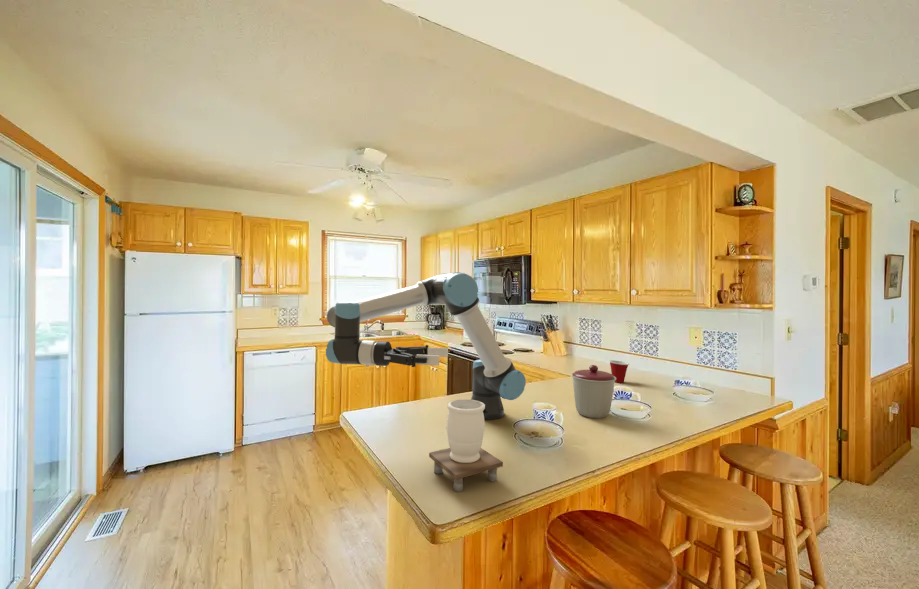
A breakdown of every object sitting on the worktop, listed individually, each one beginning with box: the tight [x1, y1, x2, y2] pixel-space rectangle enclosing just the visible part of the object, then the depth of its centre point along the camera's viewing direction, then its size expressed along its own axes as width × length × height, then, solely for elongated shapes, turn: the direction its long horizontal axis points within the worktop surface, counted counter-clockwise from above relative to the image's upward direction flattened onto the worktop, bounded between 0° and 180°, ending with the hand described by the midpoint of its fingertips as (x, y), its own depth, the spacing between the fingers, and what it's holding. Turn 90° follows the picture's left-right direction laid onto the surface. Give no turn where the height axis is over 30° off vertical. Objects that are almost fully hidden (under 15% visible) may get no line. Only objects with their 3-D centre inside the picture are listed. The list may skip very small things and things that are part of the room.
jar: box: [446, 398, 485, 463], centre depth 108 cm, size 11×10×15 cm
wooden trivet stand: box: [428, 447, 504, 493], centre depth 108 cm, size 15×15×5 cm
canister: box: [570, 364, 616, 419], centre depth 163 cm, size 18×18×21 cm
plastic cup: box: [608, 359, 630, 384], centre depth 222 cm, size 11×11×12 cm
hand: (443, 356), depth 116 cm, fingers open, 13 cm apart
